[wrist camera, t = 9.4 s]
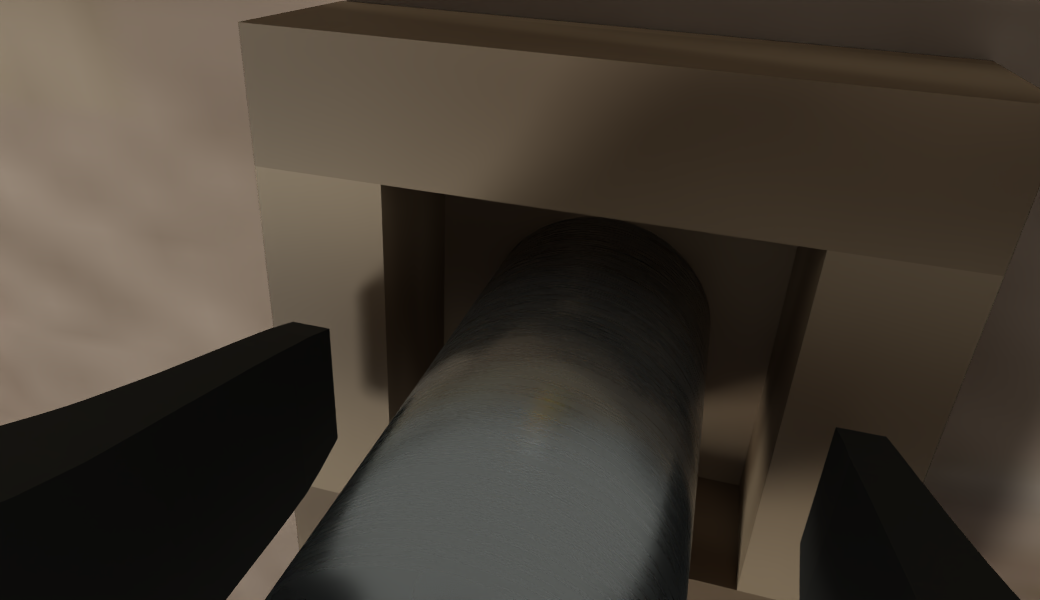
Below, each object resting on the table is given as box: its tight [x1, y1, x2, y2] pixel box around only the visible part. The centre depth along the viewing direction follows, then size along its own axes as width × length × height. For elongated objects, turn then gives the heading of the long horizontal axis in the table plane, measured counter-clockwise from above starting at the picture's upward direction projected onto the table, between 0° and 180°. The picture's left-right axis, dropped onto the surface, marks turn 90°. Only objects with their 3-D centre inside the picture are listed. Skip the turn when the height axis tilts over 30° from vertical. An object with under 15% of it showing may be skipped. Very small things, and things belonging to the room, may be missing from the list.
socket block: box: [238, 1, 1040, 600], centre depth 13 cm, size 10×10×3 cm
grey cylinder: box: [265, 217, 710, 600], centre depth 10 cm, size 4×4×8 cm
